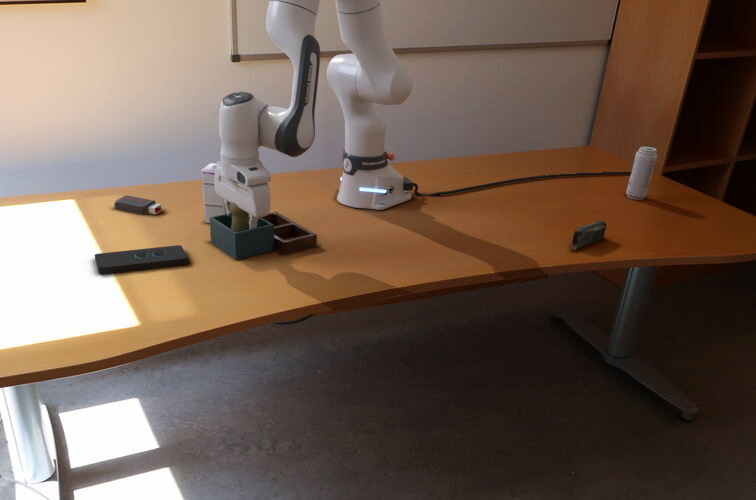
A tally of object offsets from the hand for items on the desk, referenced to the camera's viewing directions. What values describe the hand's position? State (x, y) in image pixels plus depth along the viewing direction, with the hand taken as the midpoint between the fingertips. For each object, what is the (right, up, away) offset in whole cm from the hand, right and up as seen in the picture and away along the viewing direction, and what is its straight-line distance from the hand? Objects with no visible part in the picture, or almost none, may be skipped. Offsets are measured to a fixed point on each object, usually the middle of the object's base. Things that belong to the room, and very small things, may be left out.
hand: (241, 223), depth 180 cm
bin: (0, -5, +3) cm, 6 cm away
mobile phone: (+88, -3, +16) cm, 90 cm away
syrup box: (-9, +4, +17) cm, 19 cm away
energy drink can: (+115, +17, +50) cm, 126 cm away
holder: (+8, -2, +9) cm, 12 cm away
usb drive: (-31, +7, +21) cm, 38 cm away
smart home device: (-22, -11, -7) cm, 26 cm away
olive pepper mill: (0, -5, +3) cm, 6 cm away
